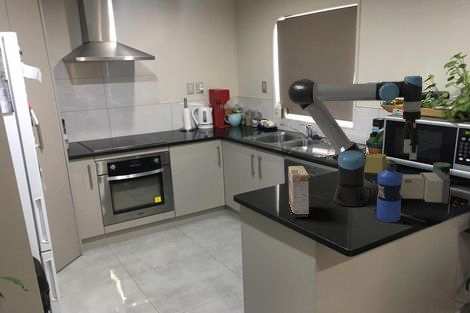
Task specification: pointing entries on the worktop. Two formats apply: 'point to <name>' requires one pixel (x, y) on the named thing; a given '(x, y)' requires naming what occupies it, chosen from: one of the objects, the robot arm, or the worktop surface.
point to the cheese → (375, 163)
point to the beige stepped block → (436, 187)
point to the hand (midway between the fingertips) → (409, 156)
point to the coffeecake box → (298, 190)
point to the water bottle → (389, 193)
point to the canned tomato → (442, 168)
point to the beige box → (412, 186)
